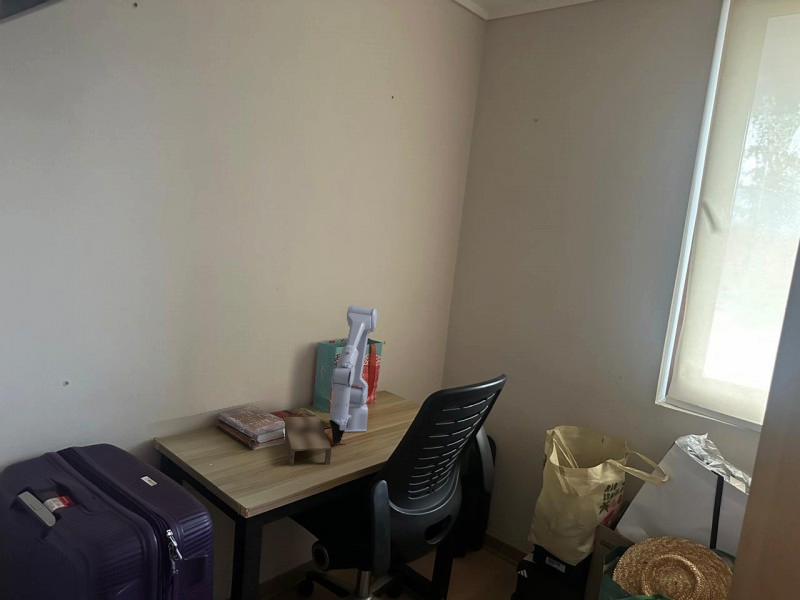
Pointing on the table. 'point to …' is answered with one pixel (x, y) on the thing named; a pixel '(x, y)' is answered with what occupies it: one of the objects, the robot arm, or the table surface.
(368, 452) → the table surface
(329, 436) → the sunglasses case
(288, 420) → the miniature wooden table
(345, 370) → the robot arm
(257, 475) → the table surface
